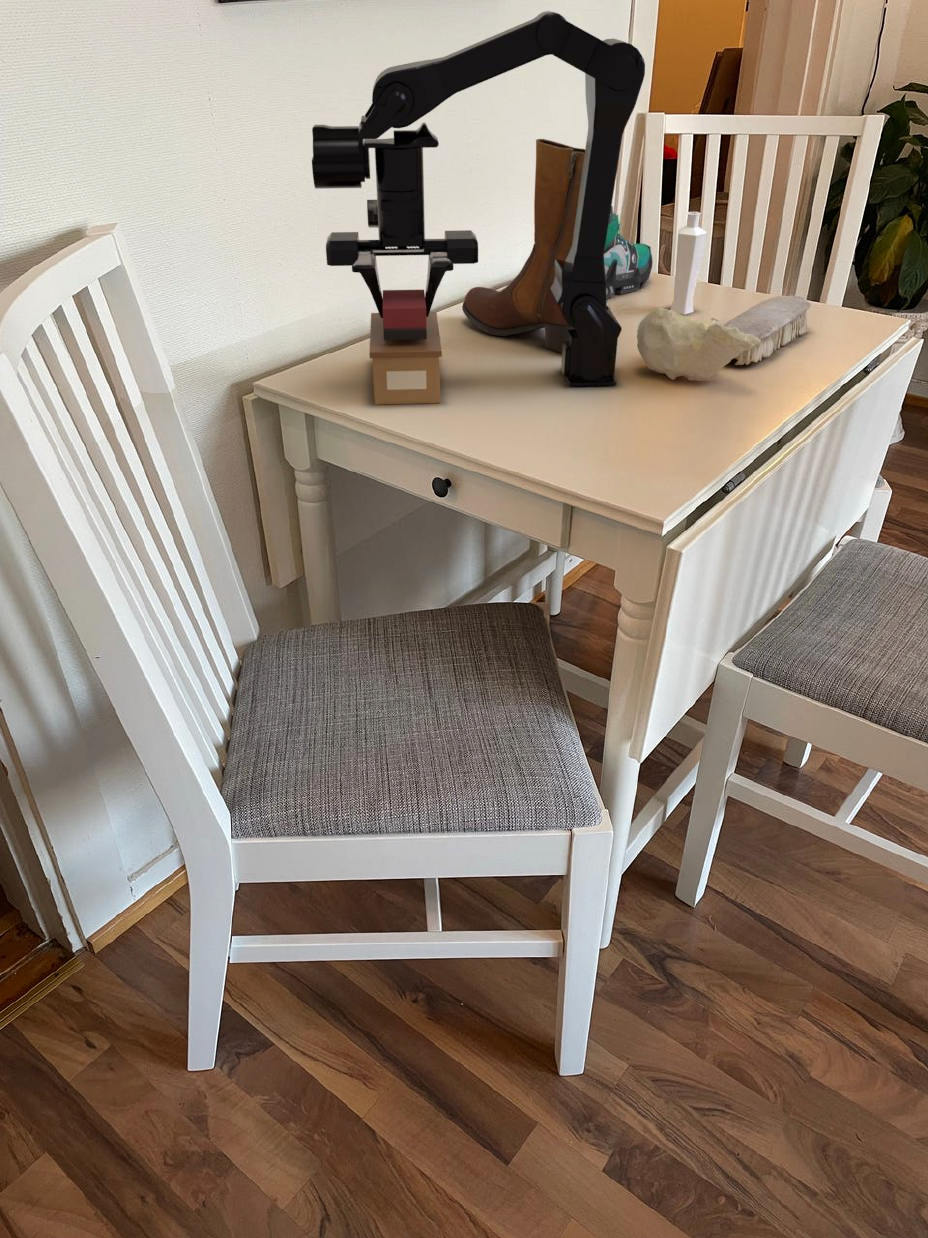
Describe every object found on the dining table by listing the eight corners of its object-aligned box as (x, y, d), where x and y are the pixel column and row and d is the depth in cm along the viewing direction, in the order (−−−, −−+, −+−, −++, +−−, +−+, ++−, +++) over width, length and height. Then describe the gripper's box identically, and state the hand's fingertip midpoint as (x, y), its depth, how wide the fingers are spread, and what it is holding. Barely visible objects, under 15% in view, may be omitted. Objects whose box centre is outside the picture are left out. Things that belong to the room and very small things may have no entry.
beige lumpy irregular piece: (616, 374, 138) (632, 336, 123) (637, 329, 139) (655, 285, 124) (715, 417, 137) (743, 383, 122) (735, 371, 138) (766, 332, 123)
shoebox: (437, 360, 137) (436, 311, 133) (442, 404, 124) (441, 350, 120) (373, 362, 136) (371, 312, 132) (372, 405, 123) (369, 352, 119)
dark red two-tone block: (424, 310, 131) (423, 281, 128) (426, 339, 121) (426, 308, 119) (384, 310, 130) (382, 282, 128) (383, 340, 120) (382, 309, 118)
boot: (452, 321, 151) (451, 132, 136) (496, 310, 156) (500, 126, 141) (564, 366, 135) (578, 156, 120) (610, 352, 140) (628, 149, 125)
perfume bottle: (660, 308, 157) (672, 211, 149) (682, 305, 159) (695, 208, 150) (677, 316, 154) (689, 217, 145) (699, 313, 155) (713, 214, 147)
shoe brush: (768, 319, 153) (774, 287, 150) (814, 328, 149) (821, 296, 146) (703, 361, 137) (708, 326, 134) (752, 373, 133) (759, 337, 130)
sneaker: (667, 281, 171) (678, 190, 162) (580, 309, 157) (587, 211, 148) (625, 270, 176) (634, 182, 167) (538, 297, 162) (543, 202, 154)
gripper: (472, 173, 123) (471, 297, 132) (326, 175, 122) (335, 299, 131) (479, 191, 114) (477, 322, 123) (321, 193, 113) (331, 325, 122)
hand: (404, 316), depth 125 cm, fingers closed on dark red two-tone block, 5 cm apart
